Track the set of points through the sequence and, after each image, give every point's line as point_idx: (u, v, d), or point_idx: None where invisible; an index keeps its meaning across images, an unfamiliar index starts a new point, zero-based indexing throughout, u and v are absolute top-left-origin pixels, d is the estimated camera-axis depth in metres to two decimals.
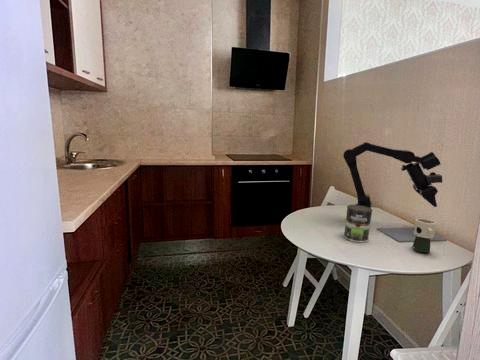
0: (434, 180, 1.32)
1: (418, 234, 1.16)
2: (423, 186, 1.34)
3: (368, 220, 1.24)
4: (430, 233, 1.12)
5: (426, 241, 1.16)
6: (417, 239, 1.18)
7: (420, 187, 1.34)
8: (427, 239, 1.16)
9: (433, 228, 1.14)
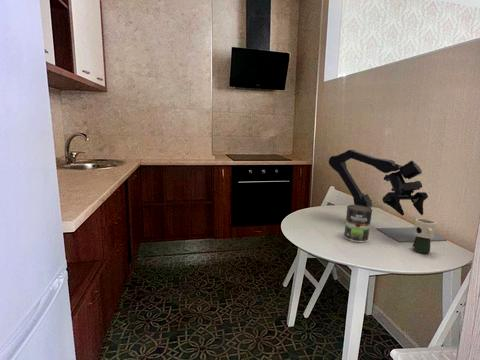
0: (404, 187, 1.25)
1: (418, 234, 1.16)
2: None
3: (368, 220, 1.24)
4: (430, 233, 1.12)
5: (426, 241, 1.16)
6: (417, 239, 1.18)
7: None
8: (427, 239, 1.16)
9: (433, 228, 1.14)
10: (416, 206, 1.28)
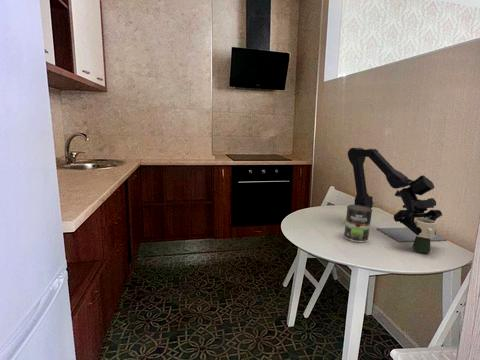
0: (417, 205, 1.18)
1: None
2: (409, 212, 1.22)
3: (368, 220, 1.24)
4: (430, 233, 1.12)
5: (426, 241, 1.16)
6: (417, 239, 1.18)
7: None
8: (427, 239, 1.16)
9: (433, 228, 1.14)
10: None
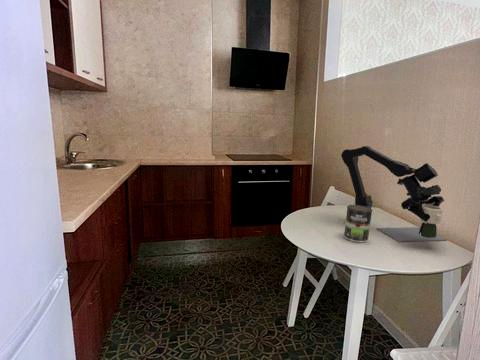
0: (424, 192, 1.21)
1: None
2: None
3: (368, 220, 1.24)
4: (439, 219, 1.16)
5: (433, 227, 1.19)
6: (424, 225, 1.21)
7: None
8: (434, 225, 1.19)
9: (440, 214, 1.18)
10: None
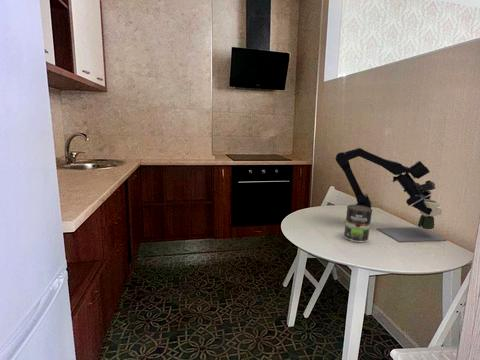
0: (424, 188, 1.31)
1: None
2: (414, 195, 1.34)
3: (368, 220, 1.24)
4: (441, 211, 1.28)
5: (433, 219, 1.31)
6: (426, 218, 1.32)
7: (412, 196, 1.35)
8: (433, 217, 1.32)
9: (438, 206, 1.30)
10: None
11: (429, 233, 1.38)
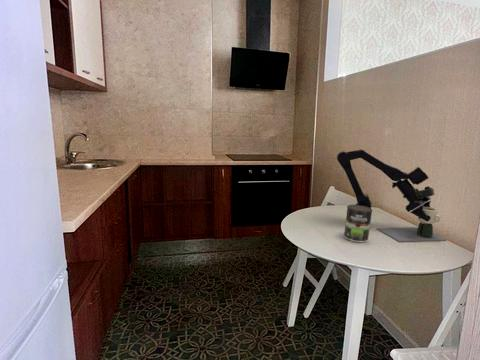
0: (423, 194, 1.32)
1: None
2: (413, 201, 1.34)
3: (368, 220, 1.24)
4: (439, 219, 1.29)
5: (431, 226, 1.32)
6: (424, 226, 1.32)
7: (411, 202, 1.35)
8: (431, 224, 1.33)
9: (436, 214, 1.31)
10: None
11: None
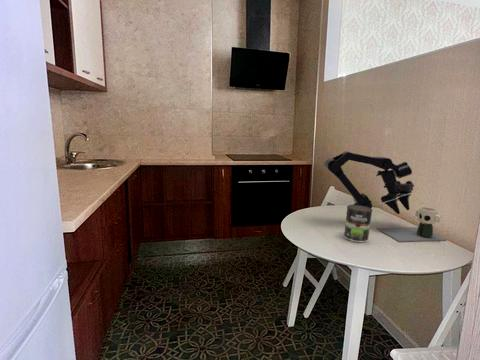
0: (401, 188, 1.37)
1: (427, 222, 1.31)
2: (391, 193, 1.40)
3: (368, 220, 1.24)
4: (439, 219, 1.29)
5: (431, 226, 1.32)
6: (424, 226, 1.32)
7: (389, 193, 1.41)
8: (431, 224, 1.33)
9: None
10: (402, 201, 1.44)
11: None
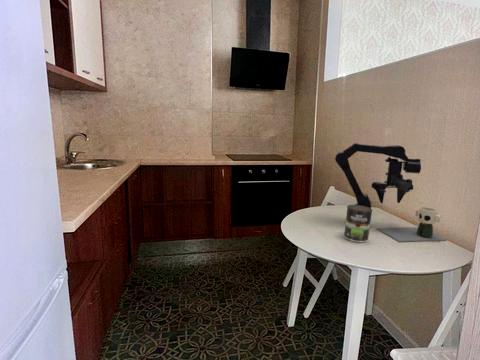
0: (395, 183, 1.35)
1: (427, 222, 1.31)
2: (387, 182, 1.40)
3: (368, 220, 1.24)
4: (439, 219, 1.29)
5: (431, 226, 1.32)
6: (424, 226, 1.32)
7: (386, 182, 1.41)
8: (431, 224, 1.33)
9: None
10: (398, 193, 1.43)
11: None
